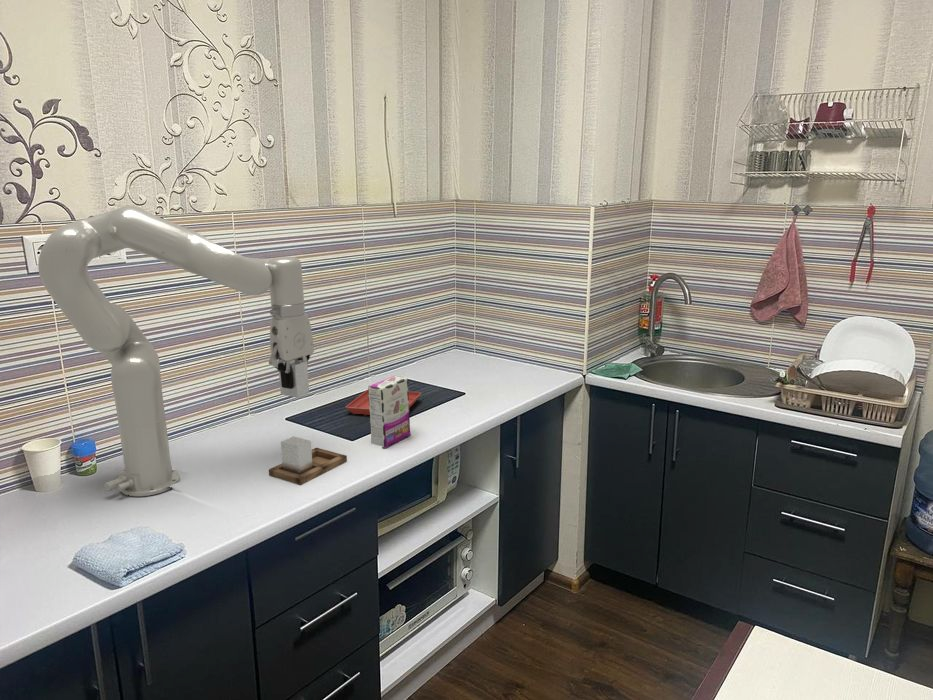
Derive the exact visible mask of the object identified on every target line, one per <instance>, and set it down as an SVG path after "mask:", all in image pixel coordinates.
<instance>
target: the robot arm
mask: <svg viewBox="0 0 933 700" xmlns="http://www.w3.org/2000/svg"><path fill="white" fill-rule="evenodd" d="M124 249H129V250H132V251H134V252H135V251H136V252H138V253H141V254H143V255H147V256H149V257H151V258H154V259H156V260H159V261H162V262H164V263H167V264H170V265H172V266H174V267H177V268H180V269H181V270H184V271H186V272H189V273H191V274H194V275H197V276H200V277H203V278H204V279H207V280H210V281H211V282H214V283H216V284H219V285H221V286H225V287H227V288H229V289H232V290H234V291H236V292H239V293H243V294H245V295H249V296H254V297H256V296H260V295H263V294H265V293H266V292H267V291H268V290H269V294H270V295H269V297H270V306H271V309H270V310H269V314H270V315H271V317H272V318H271V319H270V326H269V345H270V357H269V360H268V365H269V366H272V367H274V368H275V369H276V370H277V372H278V373H279V372H280V374H281V386H282V387H283V388H288V389H292V388H293V381H292V372H290V361H292V360H295V359H297V360H303V361H307V367H308V366H309V360H310V358H311V356H312V355H313V353H314V352H315V348H314V339H313V332H312V326H311V322H310V318H309V315H308V313H306V310H305V308H306V307H305V298H304V296H305V295H304V283H303V270H302V269H303V268H302V262H301V260H300V259H299V258H297V257H294V256H278V257H274V258H260V257H246V256H244V255H241V254H239V253H236V252H235V251H233V250H230V249H228V248H225V247H223V246H220V245H219V244H217V243H215V242H213V241H212V240H210V239H209V238H207V237H206V236H204V235H202V234H201V233H198V232H196V231H194V230H192V229H189V228H188V227H187V228H186V227H185V226H182V225H179V224H177V223H175V222H171V221H170V220H167V219H164V218H162V217H159V216H157V215H155V214H153V213H150V212H148V211H146V210H145V209H142V207H139V206H135V205H125V206H124V205H123V206H121V207H119V208H118V207H117V208H116V209H113V210H110V211H107V212H103V213H101V214H97V215H93V216H90V217H87V218H83V219H80V220H77V221H73V222H69V223H66V224H64V225H62V226H59V227H58V228H56V229H55V230H54V231H53V232H52V233H51V234H50V235H49V236H48V238H47V239H46V241H45V242H44V244H43V246H42V248H41V250H40V252H39V255H38V263H37V265H38V267H37V268H38V273H39V277H40V280H41V282H42V285H43V286H44V288H45V290H46V292H47V293H48V294H49V296H50V297H51V298H52V300H53V301H54V303H55V304H56V306H58V308H59V309H60V310H61V312H62V313H63V315H64V316H65V318H66V319H67V321H68V322H70V324H71V325H72V327H73V328H74V329H75V331H76V332H77V334H79V337H80V338H81V339H82V341H83V342H84V343H85V345H87V346H88V348H90V349H92V350H93V351H95V352H98V353H101V354H102V355H104V357H105V358H106V359H107V361H108V362H109V363H110V365H111V370H110V381H111V387H112V388H111V389H112V392H113V393H112V394H113V399H114V404H115V410H116V417H117V423H118V430H119V436H120V445H121V451H122V458H123V465H124V469H123V470H120V472H119V473H120V475H119V476H118V477H117V478H116V479H111V480H110V481H107V482H104V484H103V486H104V489H105V491H107V492H110V491H113V490H115V489H117V491H119V492H120V493H121V492H122V494H123V495H125V496H128V495H129V497H147V496H149V497H150V496H153V495H159V494H162V493H165V492H168V491H169V490H171V489H173V487H172V486H173V485H175V484H177V483H179V482H180V481H181V476H180V473H179V472H178V471H176V470H173V469H172V461H171V453H170V445H169V435H168V430H167V429H168V428H167V421H166V413H165V404H164V397H163V388H162V376H161V368H160V367H161V365H160V357H159V355H158V353H157V350H156V349H155V348H154V346H153V345H152V343H151V342H150V340H149V339H148V338H147V337H146V335H145V334H144V333H143V332H142V330H141V328H139V326H138V325H137V323H136V321H134V319H133V318H132V317H131V315H130V314H129V313H128V312H127V311H126V310H125V309H124V308H123V307H122V306H120V305H118V304H117V303H114V302H110V300H109V298H107V296H106V294H104V293H103V291H102V290H101V287H100V286H99V285H98V283H96V281H95V280H94V279H93V278H92V276H91V275H90V273H89V270H88V265H89V264H90V262H91V261H92V260H93V259H96V258H99V257H103V256H106V255H109V254H112V253H115V252H118V251H121V250H124ZM283 362H285V366H284V365H283Z"/></svg>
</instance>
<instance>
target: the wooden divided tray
mask: <svg viewBox="0 0 933 700" xmlns="http://www.w3.org/2000/svg"><path fill="white" fill-rule="evenodd" d="M311 450H312V465H313V469H311V470H309V471H307V472H305V473H303V474H301V475H298V474H295V473H291V472H288V471H285V470H283V462H282V463H279V464H277V465H275V466H273V467H271V468H268V475H269V477H273V478H276V479H279V480H281V481H285V482H289V483H292V484H294V485H299V486H302V485H304V484H306V483H308V482H309V481H311V480H314V479H316V478H318V477H319V476H321V475H324V474H326V473H328V472H329V471H332V470H333V469H336V468H338V467H339V466H341V465H343V464H345V463H347V462H348V455H346V454H342V453H338V452H335V451H331V450H329V449H328V450H327V449H324V448H320V447H314V448H311Z"/></svg>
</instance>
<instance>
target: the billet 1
mask: <svg viewBox="0 0 933 700" xmlns="http://www.w3.org/2000/svg"><path fill="white" fill-rule="evenodd" d="M283 365H284V366H285V362H283ZM308 371H309V370H308V366H307V361H303V360H297V359H295V360H292V361H290V372H292V381H293V388H292V389H288V388H283V387H282V386H281V374H280V372H278V377H279V391H280V395H282V396H288V397H293V398H300V397H303V396H305V395H307V394H310V386H309V385H310V384H309V382H310V381H309V372H308Z"/></svg>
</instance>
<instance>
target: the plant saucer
mask: <svg viewBox="0 0 933 700" xmlns="http://www.w3.org/2000/svg"><path fill="white" fill-rule="evenodd" d="M408 395H409V409H410V408H411V407H412V406H413V405H415V403H416V402H417V401H418V399H419V398H420V397H421V395H422V392H419V391H408ZM345 409H347V411H349V412H350V413H351V414H353V415H355V414H364V415H363V416H367V415H370V409H369V393H368V389H366V390H365V391H364V392H362V393H361V394H360V395H358V396H357V397H356V398H355V399H354V400H352V401H351V402H350V403H348V404H347V405H345Z"/></svg>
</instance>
